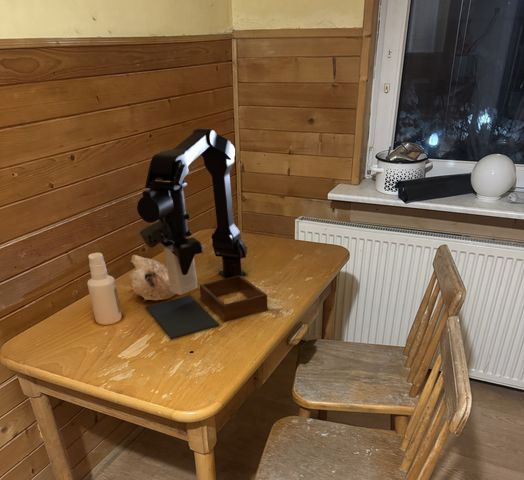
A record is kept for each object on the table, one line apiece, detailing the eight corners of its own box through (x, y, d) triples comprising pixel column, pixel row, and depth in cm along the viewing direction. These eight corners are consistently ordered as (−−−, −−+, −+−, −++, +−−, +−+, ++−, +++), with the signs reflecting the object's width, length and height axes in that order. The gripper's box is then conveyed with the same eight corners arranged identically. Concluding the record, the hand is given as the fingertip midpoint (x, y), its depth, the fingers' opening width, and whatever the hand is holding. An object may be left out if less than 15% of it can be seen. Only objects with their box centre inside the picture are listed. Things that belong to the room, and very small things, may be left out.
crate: (200, 299, 143) (199, 284, 141) (241, 289, 148) (240, 274, 146) (224, 322, 131) (223, 306, 129) (267, 309, 137) (267, 294, 134)
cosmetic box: (187, 284, 134) (181, 240, 128) (198, 288, 132) (193, 243, 126) (169, 292, 131) (162, 246, 125) (180, 296, 128) (173, 250, 122)
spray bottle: (127, 315, 136) (114, 251, 127) (112, 326, 131) (99, 261, 121) (105, 311, 138) (91, 249, 129) (90, 323, 133) (75, 258, 123)
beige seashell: (179, 316, 148) (184, 298, 143) (128, 315, 142) (133, 295, 137) (168, 274, 159) (173, 255, 153) (121, 271, 153) (125, 251, 147)
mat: (146, 308, 140) (145, 306, 139) (189, 297, 145) (189, 295, 144) (171, 339, 125) (170, 337, 124) (219, 325, 130) (219, 323, 129)
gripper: (129, 206, 124) (139, 266, 132) (153, 226, 110) (163, 291, 118) (171, 199, 128) (179, 257, 137) (201, 217, 114) (207, 281, 123)
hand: (181, 271), depth 128 cm, fingers closed on cosmetic box, 5 cm apart
